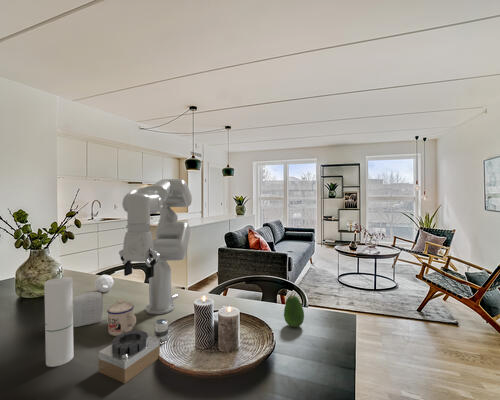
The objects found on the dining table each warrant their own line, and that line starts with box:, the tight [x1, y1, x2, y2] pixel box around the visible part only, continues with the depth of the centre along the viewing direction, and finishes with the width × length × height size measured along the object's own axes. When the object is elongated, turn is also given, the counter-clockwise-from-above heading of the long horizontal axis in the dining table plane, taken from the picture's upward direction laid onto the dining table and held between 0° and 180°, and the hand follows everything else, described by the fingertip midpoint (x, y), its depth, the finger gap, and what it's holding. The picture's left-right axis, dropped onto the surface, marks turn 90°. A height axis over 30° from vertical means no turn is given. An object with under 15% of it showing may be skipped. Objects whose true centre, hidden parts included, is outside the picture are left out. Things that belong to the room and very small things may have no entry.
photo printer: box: [73, 291, 104, 328], centre depth 109 cm, size 10×4×12 cm, turn 123°
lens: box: [154, 318, 169, 343], centre depth 96 cm, size 5×5×7 cm
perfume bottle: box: [93, 274, 115, 293], centre depth 143 cm, size 9×9×12 cm
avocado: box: [283, 295, 305, 328], centre depth 106 cm, size 8×8×12 cm
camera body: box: [98, 329, 161, 384], centre depth 83 cm, size 13×11×8 cm
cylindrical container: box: [43, 276, 75, 368], centre depth 85 cm, size 7×7×25 cm
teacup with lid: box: [106, 298, 137, 337], centre depth 103 cm, size 12×9×12 cm
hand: (138, 276), depth 97 cm, fingers open, 9 cm apart
